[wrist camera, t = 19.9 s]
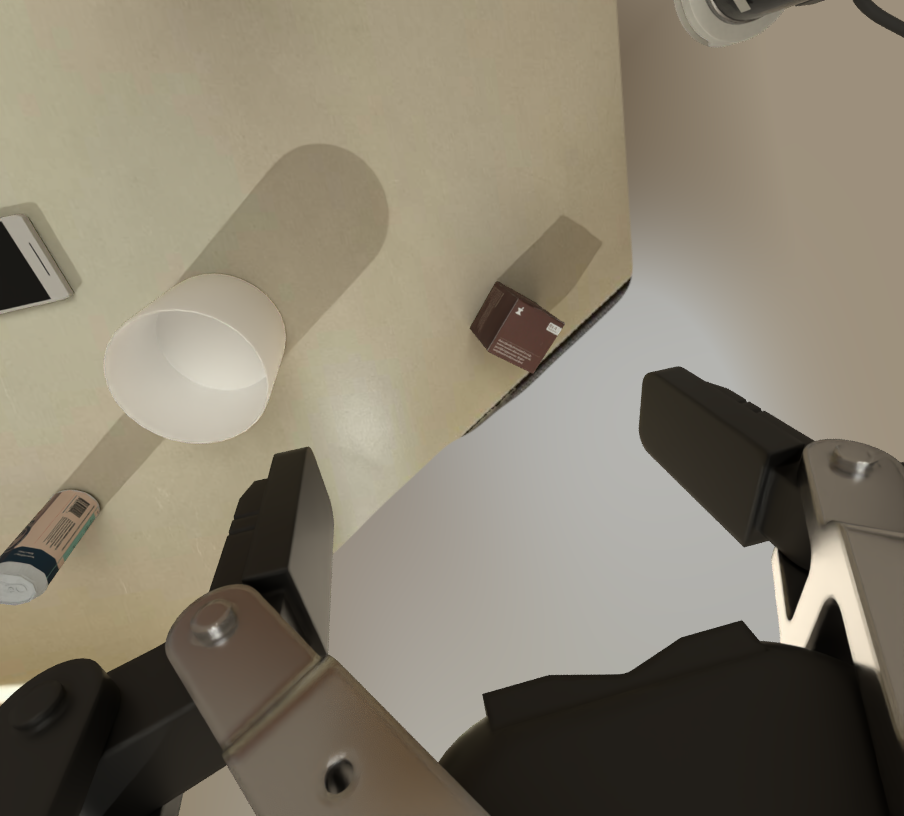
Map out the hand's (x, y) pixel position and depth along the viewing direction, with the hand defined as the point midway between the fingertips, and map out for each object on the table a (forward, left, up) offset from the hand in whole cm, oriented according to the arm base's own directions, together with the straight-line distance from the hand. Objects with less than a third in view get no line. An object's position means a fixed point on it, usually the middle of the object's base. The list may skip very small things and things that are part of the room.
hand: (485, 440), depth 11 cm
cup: (+17, +7, -39) cm, 43 cm away
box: (-12, +11, -39) cm, 42 cm away
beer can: (+39, +23, -39) cm, 60 cm away
